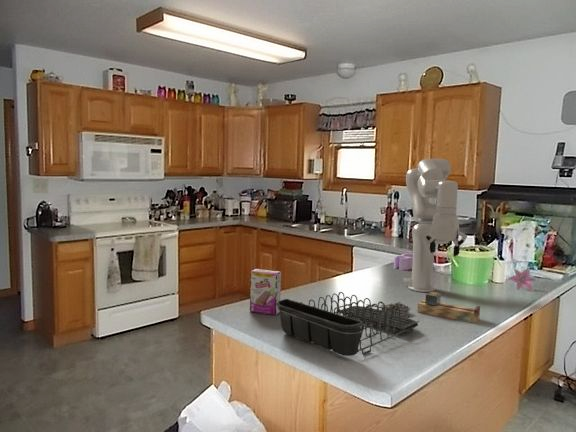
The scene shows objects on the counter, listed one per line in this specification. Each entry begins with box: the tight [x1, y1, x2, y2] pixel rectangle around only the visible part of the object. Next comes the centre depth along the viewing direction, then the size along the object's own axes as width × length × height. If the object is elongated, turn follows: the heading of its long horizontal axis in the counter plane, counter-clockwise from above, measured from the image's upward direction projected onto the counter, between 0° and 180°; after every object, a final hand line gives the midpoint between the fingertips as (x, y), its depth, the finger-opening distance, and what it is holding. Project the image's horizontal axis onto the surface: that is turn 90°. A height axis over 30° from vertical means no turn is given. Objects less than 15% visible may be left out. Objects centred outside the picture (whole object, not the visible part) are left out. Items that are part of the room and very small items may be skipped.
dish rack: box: [277, 291, 420, 357], centre depth 154 cm, size 34×44×12 cm
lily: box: [507, 267, 537, 292], centre depth 220 cm, size 12×12×10 cm
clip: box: [393, 253, 413, 271], centre depth 263 cm, size 20×12×7 cm, turn 126°
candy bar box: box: [249, 268, 282, 316], centre depth 174 cm, size 11×5×16 cm, turn 71°
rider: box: [425, 291, 442, 306], centre depth 178 cm, size 4×6×5 cm
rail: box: [417, 299, 481, 324], centre depth 175 cm, size 22×6×5 cm, turn 58°
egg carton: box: [380, 301, 412, 316], centre depth 176 cm, size 11×8×4 cm
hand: (444, 253), depth 182 cm, fingers open, 9 cm apart
